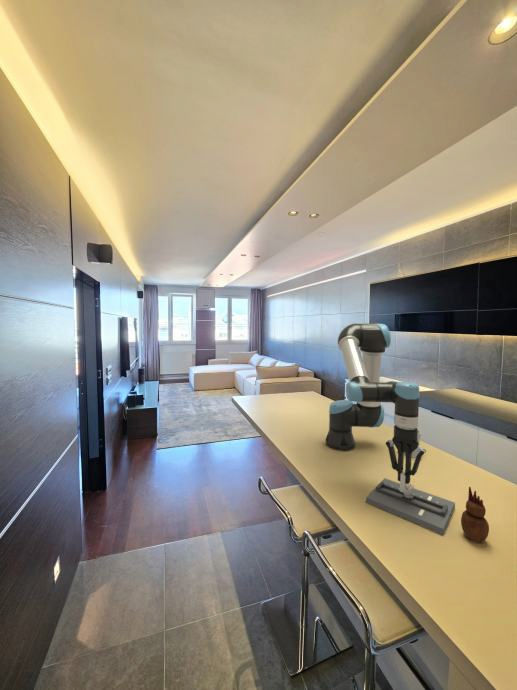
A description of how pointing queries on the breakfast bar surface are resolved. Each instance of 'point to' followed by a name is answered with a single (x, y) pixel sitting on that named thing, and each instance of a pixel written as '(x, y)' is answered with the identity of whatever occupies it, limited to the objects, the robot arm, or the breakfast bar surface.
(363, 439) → the breakfast bar surface
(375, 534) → the breakfast bar surface
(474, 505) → the wooden figurine
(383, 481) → the console
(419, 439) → the cup
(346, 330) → the robot arm
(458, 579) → the breakfast bar surface
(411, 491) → the fader
